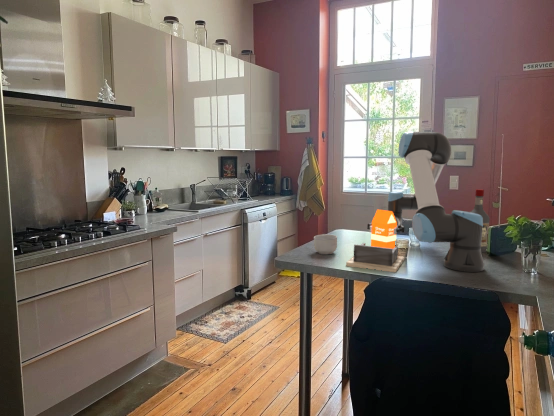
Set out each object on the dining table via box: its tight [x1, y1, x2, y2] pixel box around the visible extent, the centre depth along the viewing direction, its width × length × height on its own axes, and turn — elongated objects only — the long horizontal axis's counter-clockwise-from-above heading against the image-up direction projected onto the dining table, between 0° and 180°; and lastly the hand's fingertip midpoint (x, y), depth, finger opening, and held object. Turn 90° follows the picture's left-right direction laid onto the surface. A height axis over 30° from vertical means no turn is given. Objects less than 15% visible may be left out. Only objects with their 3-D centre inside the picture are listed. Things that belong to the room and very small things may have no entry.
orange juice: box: [370, 209, 397, 249], centre depth 192 cm, size 8×9×20 cm
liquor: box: [470, 188, 491, 253], centre depth 199 cm, size 9×9×30 cm
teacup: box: [313, 233, 338, 255], centre depth 191 cm, size 14×11×8 cm
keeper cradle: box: [345, 242, 405, 273], centre depth 173 cm, size 22×20×8 cm
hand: (382, 230), depth 188 cm, fingers closed on orange juice, 10 cm apart
